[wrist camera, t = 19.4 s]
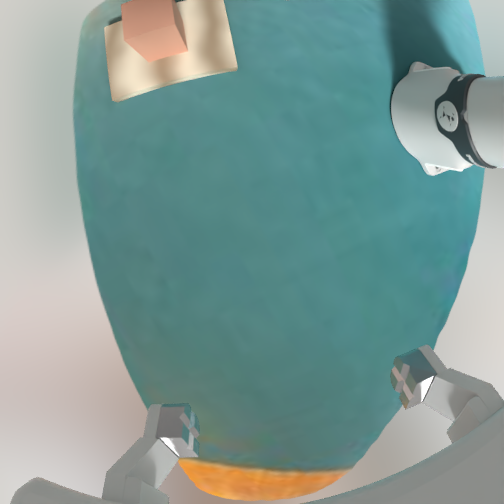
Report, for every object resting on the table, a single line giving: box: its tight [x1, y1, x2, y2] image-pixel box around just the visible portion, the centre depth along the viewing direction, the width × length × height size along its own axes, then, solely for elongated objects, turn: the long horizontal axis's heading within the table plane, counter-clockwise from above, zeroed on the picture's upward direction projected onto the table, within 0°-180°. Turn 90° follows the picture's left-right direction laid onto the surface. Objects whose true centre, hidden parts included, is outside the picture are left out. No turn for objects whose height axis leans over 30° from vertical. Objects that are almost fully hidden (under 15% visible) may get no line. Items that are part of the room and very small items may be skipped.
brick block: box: [121, 0, 188, 62], centre depth 20 cm, size 5×5×9 cm
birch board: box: [104, 0, 238, 102], centre depth 25 cm, size 16×12×2 cm
